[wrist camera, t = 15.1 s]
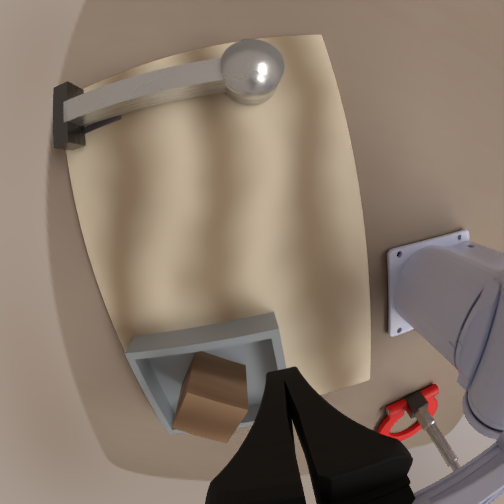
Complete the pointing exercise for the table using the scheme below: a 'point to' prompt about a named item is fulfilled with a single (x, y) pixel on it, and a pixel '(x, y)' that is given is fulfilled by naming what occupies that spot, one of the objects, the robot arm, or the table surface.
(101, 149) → the base board
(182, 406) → the block
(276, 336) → the tray
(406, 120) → the table surface
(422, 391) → the tow hook
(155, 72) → the crank lever
